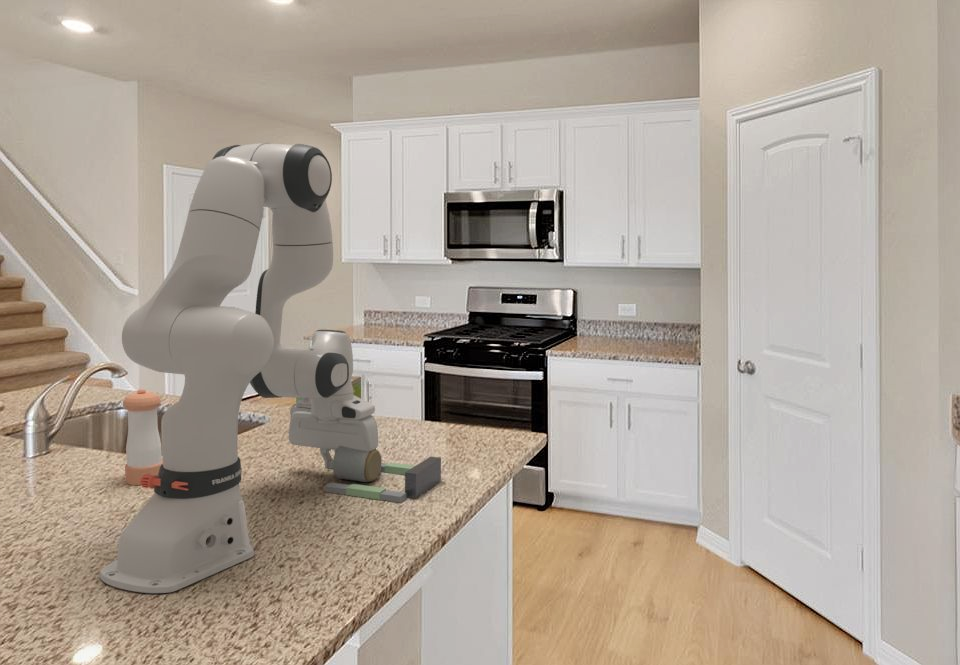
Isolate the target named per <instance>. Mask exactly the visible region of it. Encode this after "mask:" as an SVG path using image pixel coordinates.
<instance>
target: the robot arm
mask: <svg viewBox="0 0 960 665" xmlns="http://www.w3.org/2000/svg"><path fill="white" fill-rule="evenodd" d="M332 174H333V173H332V168H331V165H330V162H329V160H328V159H327V157H326V155H325V154H324V153H323V152H322V150H320V149H319V148H318V147H316V146H312V145H308V144H305V143H304V144H303V143H296V144H287V143H286V144H285V143H271V142H261V143H250V144H249V143H248V144H244V145H240V144H234V145H229V146H226V147H224V148H222V149H220V150H219V151H217V152H216V153H215V155H213V157H212V159H211V160H210V161H209V162H208V163H207V164H206V166H205V167H204V170H203V172H202V175H201V176H200V179H199V181H198V183H197V184H196V188H195V190H194V192H193V193H194V194H193V196H192V199H191V202H190V206H189V209H188V213H187V217H186V221H185V225H184V228H183V229H184V230H183V232H182V237H181V240H180V244H179V246H178V251H177V254H176V257H175V260H173V261H174V262H173V264H172V266H171V268H170V270H169V272H168V273H167V275H166V277H165V279H164V280H163V281H162V283H161V284H160V286H159V287H158V289H157V290H156V292H154V294H153V295H152V296H151V298H150V299H149V300H148V301H147V302H145V303H144V304H143V305H142V306H141V307H139V308H137V309H136V310H135V311H133V312H132V313H131V314H130V315H129V316H128V317H127V319H126V321H125V322H124V325H123V327H122V331H121V344H122V348H123V350H124V352H125V354H126V356H127V357H128V358H129V360H131V361H132V362H134V363H135V364H138V365H139V366H141V367H143V368H146V369H149V370H152V371H155V372H159V373H165V374H177V375H184V385H183V390H182V394H181V396H180V398H179V400H178V401H177V402H176V403H173V404H172V405H171V406H170V407H169V408H167V409H166V410H165V412H164V413H163V415H162V417H161V422H160V424H161V425H160V426H161V430H160V431H161V451H162V461H163V464H162V465H161V466H160V469H159V472H158V476H156V475H153V476H152V475H149V474H144V475H143V476H142V478H141V479H140V481H141V482H140V483H142V484H140V485H139V486H141V487H142V488H145V489H147V488H149V489H153V492H154V493H153V495H152V496H151V497H150V498H149V499H148V501H147V502H146V503H145V504H144V506H143V507H142V508H141V509H140V510H139V511H138V513H137V514H135V517H133V518H132V520H131V521H130V522H129V523H128V525H126V527H125V528H124V529H123V530H122V532H121V533H120V536H119V541H118V548H117V559H115V560H114V561H112V562H110V563H109V564H107V565H106V566H104V567H103V568H101V569H100V570H99V571H100V572H99V578H100V580H101V581H102V582H104V583H105V584H106V585H108V586H111V587H113V588H117V589H121V590H125V591H129V592H130V591H131V592H137V593H145V594H165V593H173V592H176V591H179V590H181V589H183V588H185V587H188V586H190V585H192V584H194V583H197V582H199V581H202V580H203V579H206V578H208V577H211V576H213V575H215V574H217V573H219V572H221V571H224V570H226V569H228V568H230V567H233V566H235V565H237V564H239V563H241V562H244V561H246V560H248V559H251V558H253V557H254V556H255V550H254V547H253V546H252V545H251V544H252V540H251V538H250V534H249V530H248V521H247V514H246V507H245V501H244V499H243V497H242V493H241V489H240V483H241V481H242V472H243V468H242V462H241V458H240V457H239V453H238V451H239V449H238V447H239V446H238V437H239V436H238V432H239V430H238V427H239V426H238V425H239V424H238V423H239V413H240V406H241V403H242V400H243V397H244V395H245V392H246V390H247V388H248V386H249V385H250V386H251V387H252V389H253V390H254V391H255V392H256V394H258V395H259V396H260V397H261V398H263V399H275V398H276V399H278V398H280V399H281V398H294V399H296V398H311V403H302V402H297V403H296V402H295V403H294V404H292V406H290V410H289V412H290V414H289V416H290V418H289V426H288V427H289V428H288V442H289V443H290V444H291V445H292V446H300V447H307V448H308V447H309V448H316V449H319V453H320V456H321V457H322V459H323V461H324V466H325V467H324V468H325V469H326V470H333V460H334V458H332V456H331V453H330V452H331V451H334V453H335V452H336V450H337V448H338V447H339V446H344V447H348V448H353V449H357V450H363V451H366V452H370V451H372V450H374V449H376V450H377V449H378V446H379V431H378V423H377V420H376V418H375V417H374V416H373V414H374V413H375V411H376V410H375V409H376V407H375V405H374V404H373V403H371V402H369V401H367V400H365V399H362V398H361V399H360V398H358V397H357V396H355V395H353V386H352V382H351V378H352V376H353V373H354V361H353V360H354V356H353V347H352V341H351V336H350V334H349V333H347V331H343V330H340V329H339V330H334V329H317V330H315V331H314V332H313V334H312V339H311V345H310V347H309V348H308V349H295V348H293V349H291V348H284V347H283V346H282V344H281V336H282V335H281V333H282V320H283V312H284V311H283V310H284V307H285V304H286V303H287V301H288V300H289V299H290V298H293V296H296V295H298V294H301V293H303V292H305V291H308V290H310V289H312V288H315V287H317V286H318V285H320V284H321V283H322V282H324V281H325V280H326V279H327V278H328V276H329V275H330V273H331V271H332V268H333V266H334V265H333V263H334V245H333V244H334V242H333V233H332V232H333V231H332V224H331V217H330V214H329V213H330V212H329V208H328V205H327V201H326V200H327V198H328V196H329V193H330V190H331V187H332V182H333V175H332ZM264 208H270V211H271V212H272V222H271V230H272V231H271V232H272V234H271V235H272V249H273V250H272V258H271V261H270V264H269V266H268V268H267V269H266V270H264V271H263V272H262V273H261V275H260V276H259V277H260V278H259V279H258V280H259V281H258V285H257V293H256V298H255V299H256V301H255V312H251V311H249V310H246V309H241V308H239V307H234V306H221V304H222V303H223V302H224V300H225V299H226V297H227V296H228V295H229V294H230V293H231V292H232V291H233V290H235V289H236V288H238V287H239V286H241V285H243V283H245V282H246V281H247V279H248V278H249V276H250V275H251V272H252V269H253V262H254V258H255V254H256V250H257V245H258V240H259V236H260V232H261V226H262V221H263V215H264Z"/></svg>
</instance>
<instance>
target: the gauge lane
mask: <svg viewBox="0 0 960 665" xmlns="http://www.w3.org/2000/svg"><path fill="white" fill-rule="evenodd" d="M415 466H416V465H413V464H405V463H399V462H398V463H397V462H388V463H385V462H381V471H380V472H379V473H381V472H382V473H387V474H395V475H401V474H402V476H405V472H407V471H408V470H410V469H411V468H413V467H415ZM323 487H324V489H323V490H324V491H326V492H325V493H330V492H333V493H332V494H337V493H339V494H338V495H344V494H346V495H345V496H349V495H351V496H352V497H356V496H357V498H362V497H364V498H363V499H369V498H370V499H372V500H376V499H377V501H384V500H386V501H385V502H391V503H392V502H393V503H398V504H399V503H400V504H401V503H403V502H404V501H405V500H407V497H406V493H405V492H403V491H395V490H389V489H387V488H385V487H377V486H370V485H364V484H357V483H352V484H346V483H338V482H329V483H327V484H325V485H324V486H323ZM351 496H350V497H351ZM370 499H369V500H370Z"/></svg>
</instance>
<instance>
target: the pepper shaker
mask: <svg viewBox="0 0 960 665" xmlns="http://www.w3.org/2000/svg"><path fill="white" fill-rule="evenodd" d="M161 403H162V400H161V398H160V397H159V395H158V394H157V393H154V392H150V391H147V390H146V389H144V388H139V389H138V390H137V392H133V393H130V394H128V395H126V397H125V398H124V399H123V403H122V405H123V407H124V409H125V410H126V411H127V427H128V428H127V430H128V431H127V438H126V446H125V453H126V454H125V455H126V463H125V465H124V472H125V473H124V475H125V478H124V479H125V484H128V485H130V486H141V485H140V484H142V483H140V482H141V481H140V479H141V478H142V476H143V475H144V474H149V475H152V476H153V475H156V476H158V472H159V469H160V466H161V465H162V464H163V459H162V440H161V438H160V432H159V426H158V425H159V424H158V423H159V421H158V408H159V407H160V406H161Z"/></svg>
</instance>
